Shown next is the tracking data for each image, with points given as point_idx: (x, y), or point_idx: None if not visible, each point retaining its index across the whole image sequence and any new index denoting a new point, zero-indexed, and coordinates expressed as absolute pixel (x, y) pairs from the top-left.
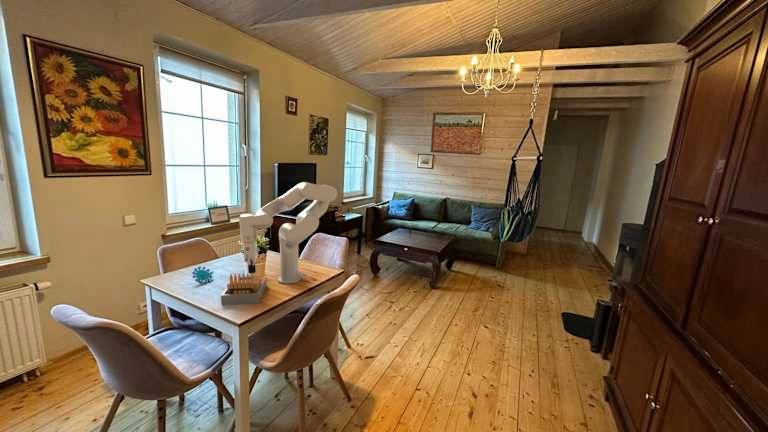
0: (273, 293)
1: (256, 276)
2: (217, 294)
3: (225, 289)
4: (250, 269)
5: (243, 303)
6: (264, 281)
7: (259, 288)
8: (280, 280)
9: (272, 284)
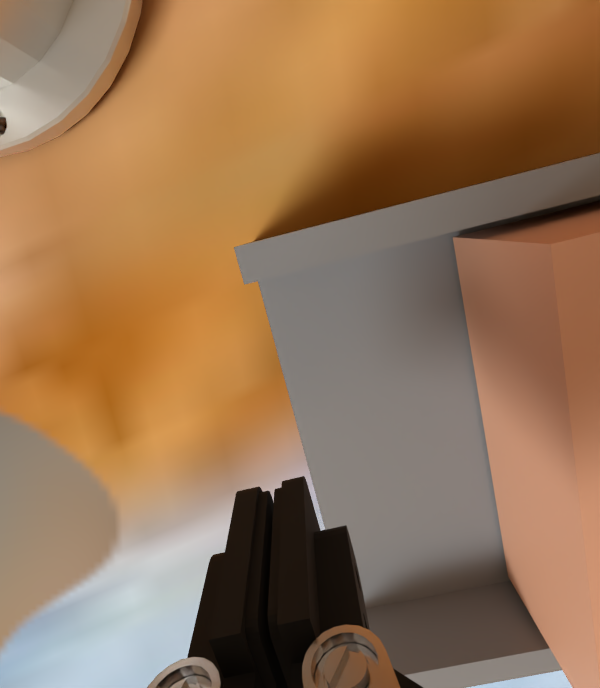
0: (528, 5)
1: (581, 340)
2: None
3: None
4: (363, 613)
5: None
6: (436, 195)
7: None
8: (97, 44)
9: (207, 164)
